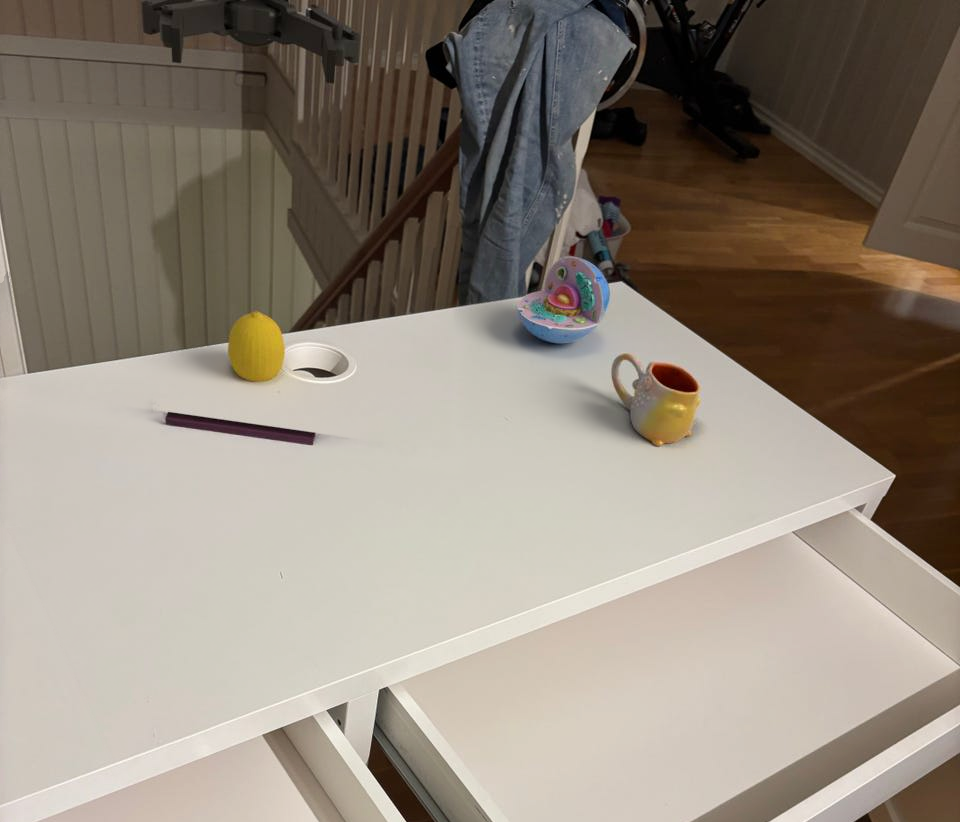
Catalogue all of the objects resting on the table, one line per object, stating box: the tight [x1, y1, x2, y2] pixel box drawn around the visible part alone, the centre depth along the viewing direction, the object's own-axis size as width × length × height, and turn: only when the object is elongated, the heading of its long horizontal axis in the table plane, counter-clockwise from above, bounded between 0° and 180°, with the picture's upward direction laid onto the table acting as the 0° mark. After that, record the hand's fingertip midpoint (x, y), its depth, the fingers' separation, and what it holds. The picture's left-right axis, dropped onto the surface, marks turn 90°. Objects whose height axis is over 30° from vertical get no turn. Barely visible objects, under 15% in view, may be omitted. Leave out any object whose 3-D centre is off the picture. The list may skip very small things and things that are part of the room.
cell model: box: [516, 255, 611, 344], centre depth 116 cm, size 10×12×10 cm
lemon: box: [227, 310, 286, 383], centre depth 98 cm, size 6×6×8 cm
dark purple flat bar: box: [164, 411, 316, 446], centre depth 95 cm, size 14×5×1 cm, turn 90°
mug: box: [610, 352, 701, 447], centre depth 107 cm, size 12×7×7 cm, turn 35°
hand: (254, 56), depth 88 cm, fingers open, 13 cm apart
